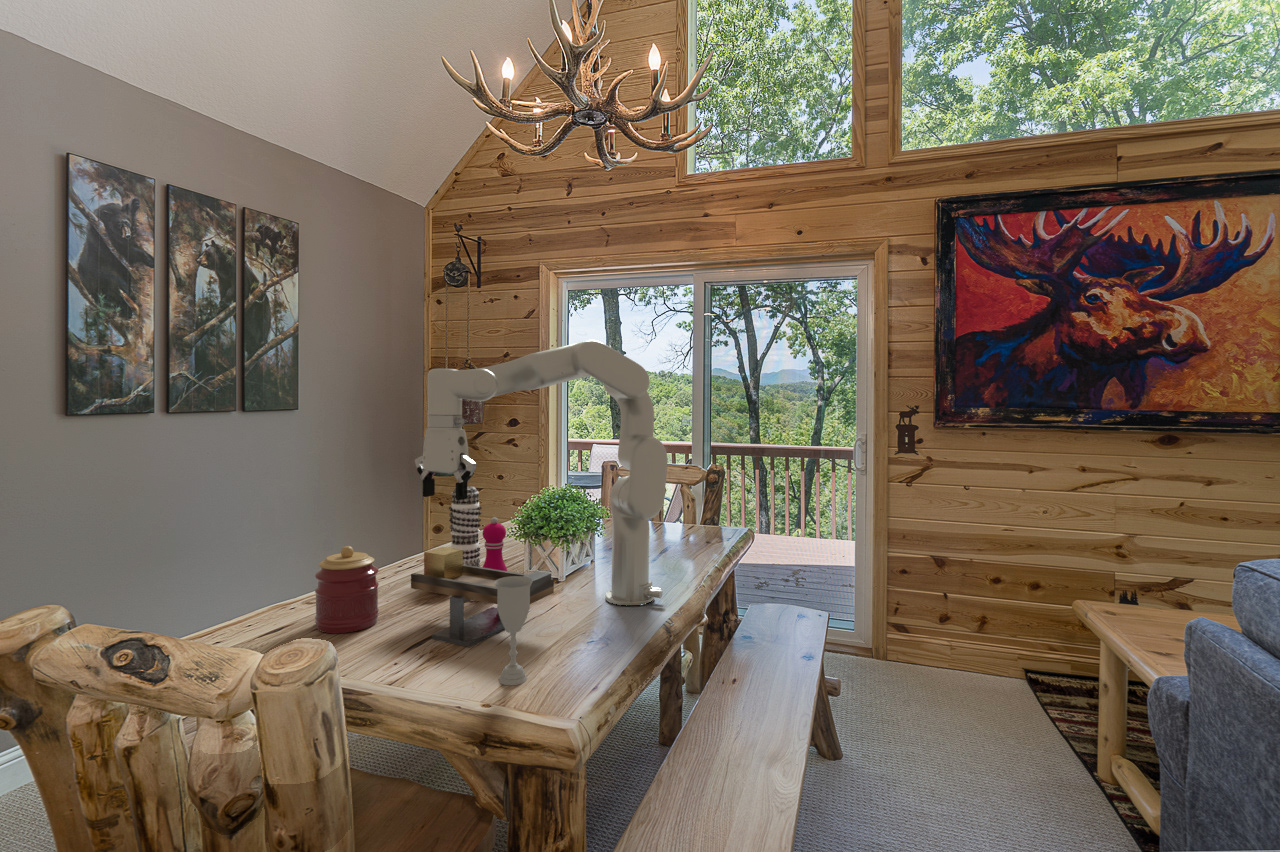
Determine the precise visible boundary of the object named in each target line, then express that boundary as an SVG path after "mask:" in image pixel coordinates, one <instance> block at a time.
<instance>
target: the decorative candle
mask: <svg viewBox="0 0 1280 852" xmlns="http://www.w3.org/2000/svg"><path fill="white" fill-rule="evenodd" d="M479 493H480V491H478V489H477V488H476V487H475V486H468V485H467V499H463V500H456V487H455V488H454V489H453V491H452V492H450V494H451V496H452V497H451V506H449V507H448V510H449V511H450V513H449V514H448V515H449V517H450V518H449V522H450V526H449V529H450V534H451V545H450V548H456V549H463V564H464V565H470V566H476V567H481V564H480V562H481V559H480V556H481V553H480V550H481V547H480V541H479V537H480V536H479V534H480V533H481V530H480V529H479V528H480V527H481V526H482V525H481V524H480V522H481V521H482V519H481V518H480V517H479V516H481V515H482V512H481V510H482V509H483V507H482V506H481V505H480V501H479V499H480V498H479V497H480V496H479Z"/></svg>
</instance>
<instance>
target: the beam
mask: <svg viewBox="0 0 1280 852" xmlns="http://www.w3.org/2000/svg"><path fill="white" fill-rule="evenodd" d="M509 576H523V577H528V578H531V579H532V580H533V582H532V584H531V586H530V605H532V604H534V603H536V602H537V601H539V600H542V599H544V598H546V597H548V596H550V595H552V594H554V592H555V591H554V590H555V587H554V585H555V581H554V580H555V578H552V573H550V572H545V571H537V570H536V571H533V572H531V573H529V574H526V573H521V572H515V571H508V570H507V571H502V570H496V569H489V568H483V566H480V567H476V566H470V565H464V564H463V575H462V576H459V577H456V578H453V579H446V578H440V577H434V576H429V575H424V573H417V572H412V573H410V589H413V590H418V591H424V592H429V593H433V594H438V593H439V595H446V596H449V597H451V596H454V595H458V596H463V597H464V604H467V603H469V602H472V601H478V602H484V603H489V604H493V605H494V604H495V605H497V587H496V585H495V581H496V580H498V579H500V578H503V577H509Z"/></svg>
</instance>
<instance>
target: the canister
mask: <svg viewBox="0 0 1280 852" xmlns="http://www.w3.org/2000/svg"><path fill="white" fill-rule="evenodd" d="M374 562H375V558H374V557H372V556H370V555H369V554H368V553H366V552H360V551H357V552H356V551H354V548H353V547H352V546H351V545H345V546H343V547H342V548H341V550H340V553H335V554H331V555H328V556H326V558H325V559H323V560H322V561H320V562H319V563H318V566H319V567H320V569H319V570H318V571H317V572H315V574H314V578H315V579H316V580H317V585H316V587H315V589H314V593H315V617H314V619H315V620H314V623H315V625H316V629H317V630H318V629H319V630H321V631H320V632H322V631H323V632H322V633H325V632H326V634H345V633H347V632H348V633H353V631H354V632H358V630H359V631H363V630H364V629H368V628H370V627H372V626H374V625H375V624H377V623H378V618H379V616H380V615H379V612H380V610H379V598H378V597H379V595H378V593H379V590H378V589H379V586H380V585H379V582H378V581H377V574H378V573H379V571H380V569H379V568H378V566H375V565H374ZM319 630H318V631H319ZM348 633H347V634H348Z"/></svg>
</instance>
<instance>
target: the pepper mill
mask: <svg viewBox="0 0 1280 852" xmlns="http://www.w3.org/2000/svg"><path fill="white" fill-rule="evenodd" d="M506 536H507V529H506V527H505V526H504V524H502V523H499V519H498V517H491V519H490V523H488V524H486V525H485V526H484V527H483V530H482V537H483V539H484V548H485V553H486V554H485V558H484V559H485V560H484V562H483V565H482V567H483V568H489V569H496V570H502V571H508V567H507V566H506V563H505V560H504V558H503V548H504V547H505V541H504V539H505V537H506Z"/></svg>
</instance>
